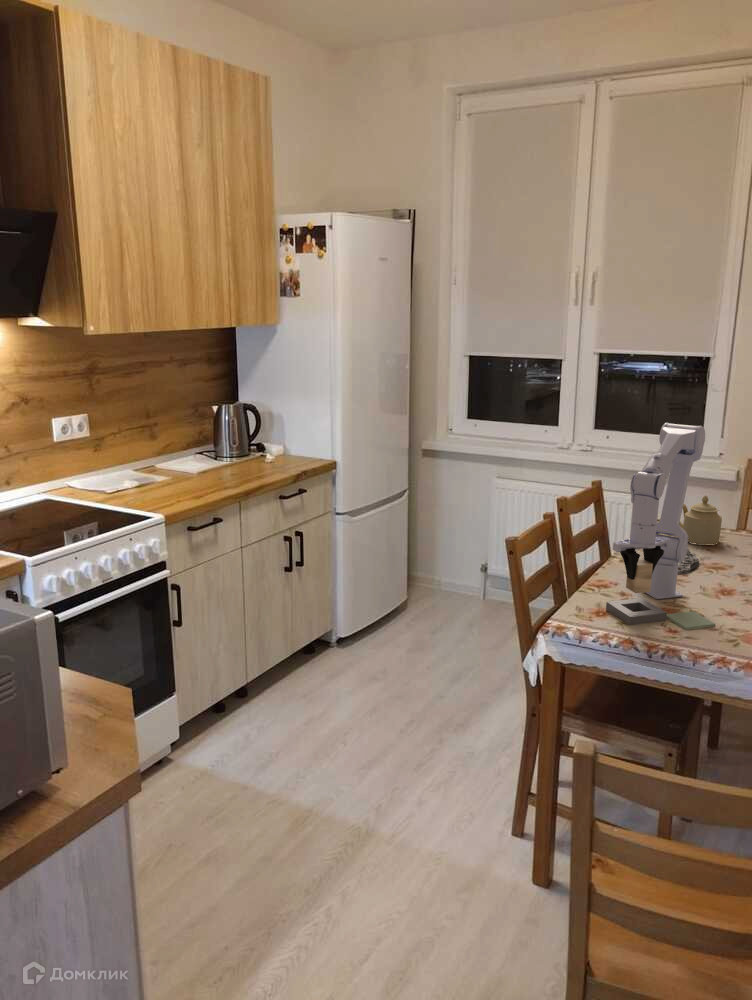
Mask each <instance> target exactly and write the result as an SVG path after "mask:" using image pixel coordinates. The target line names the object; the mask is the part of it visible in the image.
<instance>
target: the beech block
mask: <svg viewBox="0 0 752 1000" xmlns="http://www.w3.org/2000/svg"><path fill="white" fill-rule="evenodd" d="M652 568H653V564H652V563H650V562H648V561H646V560H644V558H639V560H638V563H637V567H636V575H635V579H634V580H631V579H629V578H628V577H627V576H626V582H625V583H626V584H625V588H626V589H627V590H630V592H632V593H634V594H641V593H642V594H643V593H645V592H650V589H651V579H652Z"/></svg>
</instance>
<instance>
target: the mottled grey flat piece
mask: <svg viewBox="0 0 752 1000" xmlns="http://www.w3.org/2000/svg"><path fill="white" fill-rule="evenodd" d="M696 555H697V554H696V553H695V552H691V551H690V549H689V548H687V554H686V557H685V559H684V560H683V561H682V562H681V563H679V564H678V569H679V570H678V573H677V575H681V574H680V573H683V574H689V573H691V571H693V570H695V569H696V568H697V567H698V566H699V563H700V559H699V558H697V557H696Z"/></svg>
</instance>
